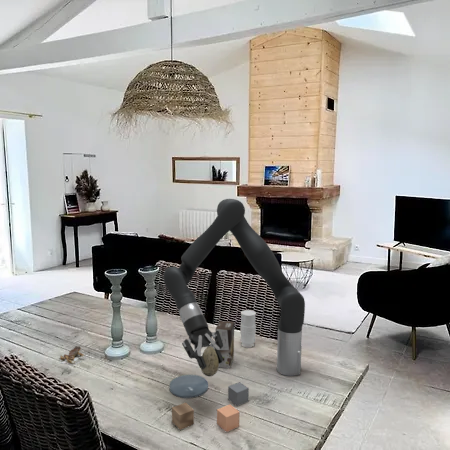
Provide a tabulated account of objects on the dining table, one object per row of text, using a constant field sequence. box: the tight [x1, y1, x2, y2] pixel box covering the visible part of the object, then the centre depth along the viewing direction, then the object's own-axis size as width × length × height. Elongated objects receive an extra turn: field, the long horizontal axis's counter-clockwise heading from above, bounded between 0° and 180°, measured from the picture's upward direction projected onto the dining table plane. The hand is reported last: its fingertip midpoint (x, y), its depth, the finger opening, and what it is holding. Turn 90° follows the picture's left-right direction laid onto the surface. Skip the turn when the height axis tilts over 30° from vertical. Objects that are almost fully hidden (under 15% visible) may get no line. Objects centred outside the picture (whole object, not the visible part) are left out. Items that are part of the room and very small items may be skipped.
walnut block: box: [171, 402, 195, 431], centre depth 131 cm, size 5×5×5 cm
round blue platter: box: [169, 374, 209, 399], centre depth 152 cm, size 14×14×1 cm
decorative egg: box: [200, 346, 220, 377], centre depth 137 cm, size 6×6×10 cm
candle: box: [239, 309, 257, 348], centre depth 187 cm, size 7×7×15 cm
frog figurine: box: [58, 345, 87, 366], centre depth 174 cm, size 12×12×4 cm
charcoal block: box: [227, 381, 250, 407], centre depth 144 cm, size 5×5×5 cm
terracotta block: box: [216, 403, 241, 433], centre depth 130 cm, size 5×5×5 cm
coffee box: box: [215, 320, 235, 369], centre depth 170 cm, size 9×6×16 cm
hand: (212, 365), depth 136 cm, fingers closed on decorative egg, 6 cm apart
